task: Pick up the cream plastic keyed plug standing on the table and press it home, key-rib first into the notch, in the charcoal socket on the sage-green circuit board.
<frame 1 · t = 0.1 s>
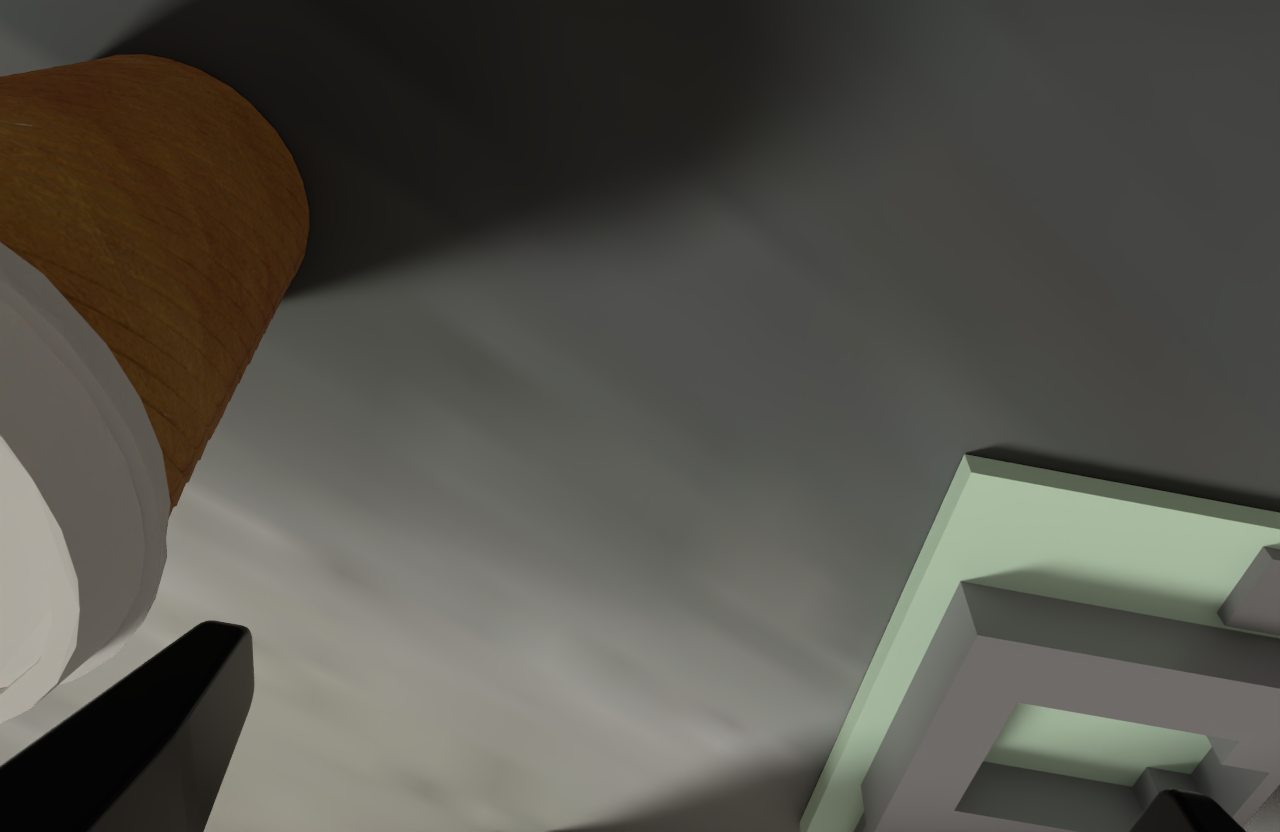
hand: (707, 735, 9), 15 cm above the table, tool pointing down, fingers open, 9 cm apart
disposable coffee cup: (179, 191, 23), on the table
header socket: (1060, 699, 30), resting on circuit board
circuit board: (1060, 699, 30), on the table
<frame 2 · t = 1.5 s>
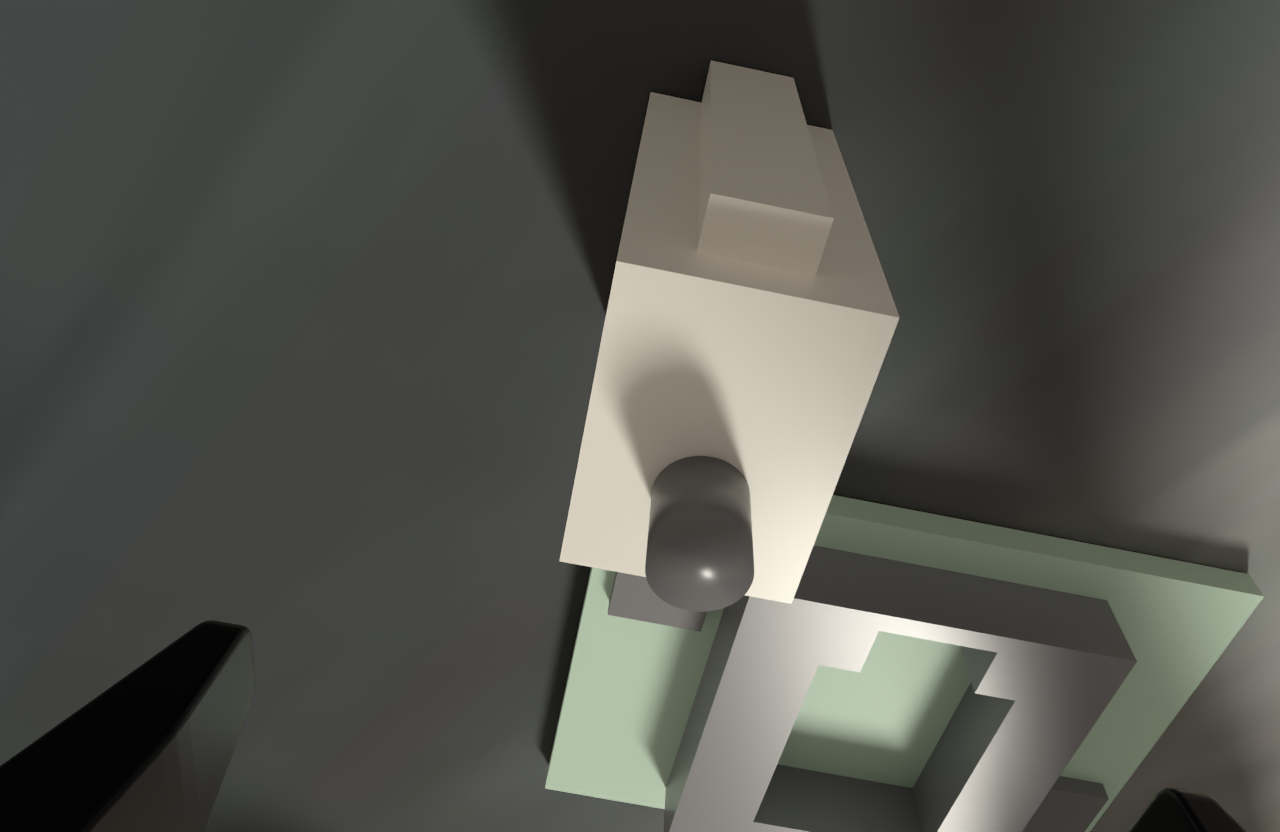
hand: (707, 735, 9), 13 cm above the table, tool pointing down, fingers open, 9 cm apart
header socket: (861, 680, 27), resting on circuit board
keyed plug: (712, 230, 20), on the table
circuit board: (861, 680, 27), on the table
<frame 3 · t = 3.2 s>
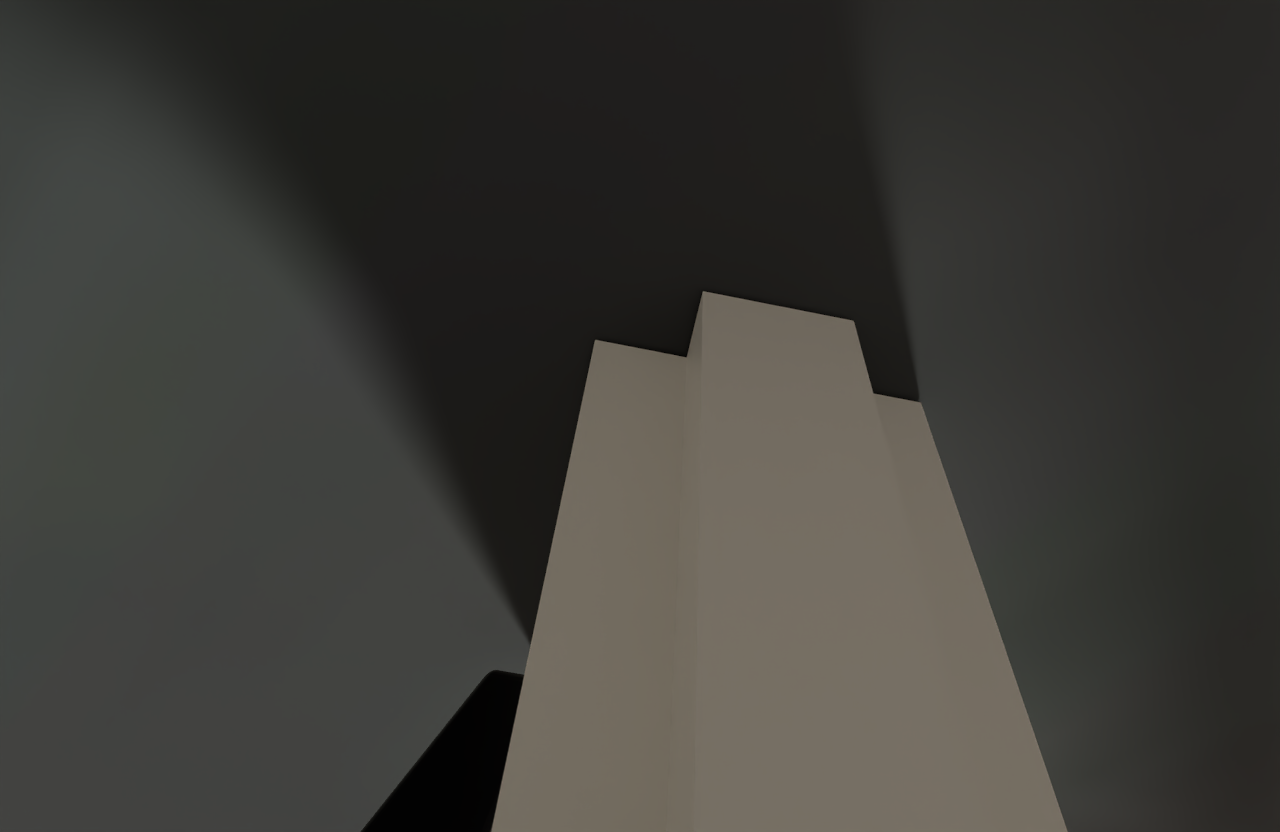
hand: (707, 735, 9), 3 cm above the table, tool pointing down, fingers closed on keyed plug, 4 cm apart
keyed plug: (708, 544, 12), on the table, touching gripper
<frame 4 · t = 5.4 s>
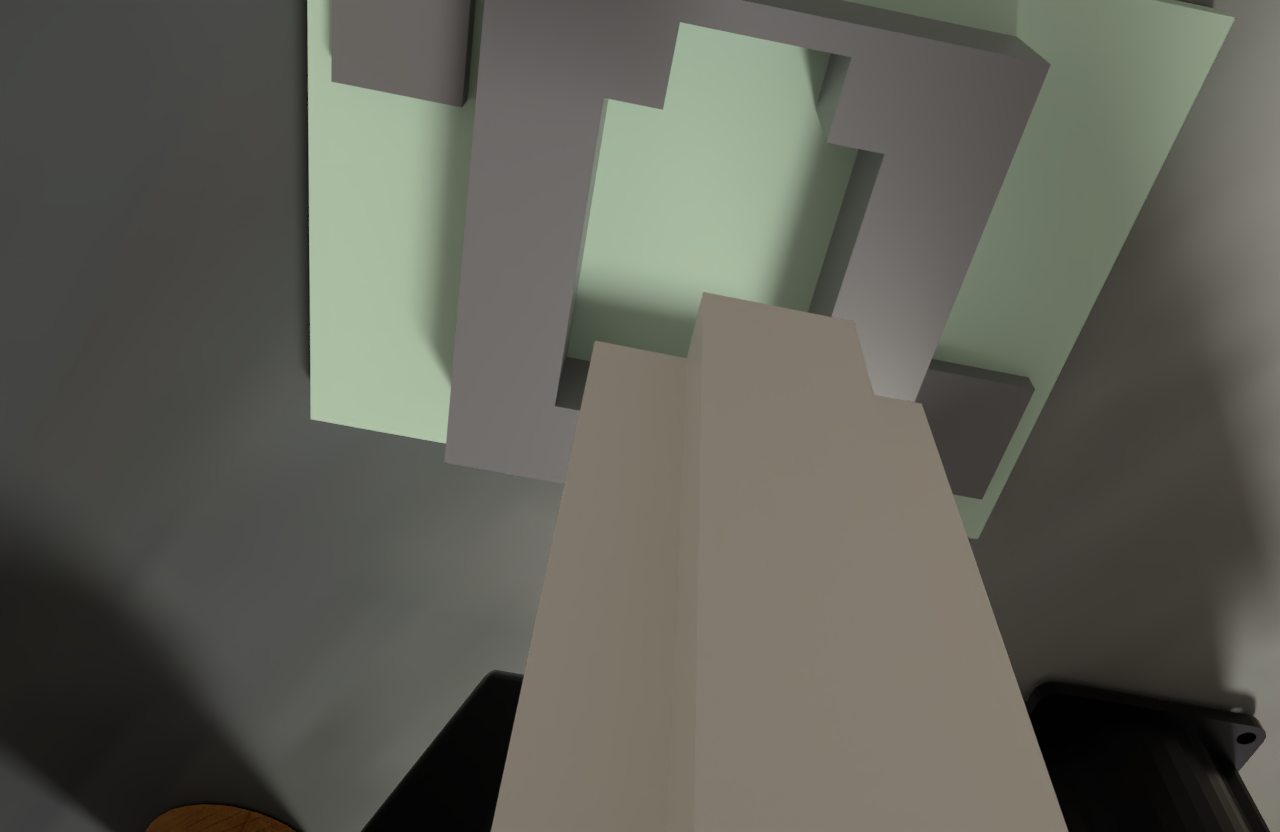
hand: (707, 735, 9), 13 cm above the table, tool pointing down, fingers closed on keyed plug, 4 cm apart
header socket: (705, 232, 20), resting on circuit board
keyed plug: (708, 546, 12), point 10 cm above the table, touching gripper
circuit board: (705, 232, 20), on the table
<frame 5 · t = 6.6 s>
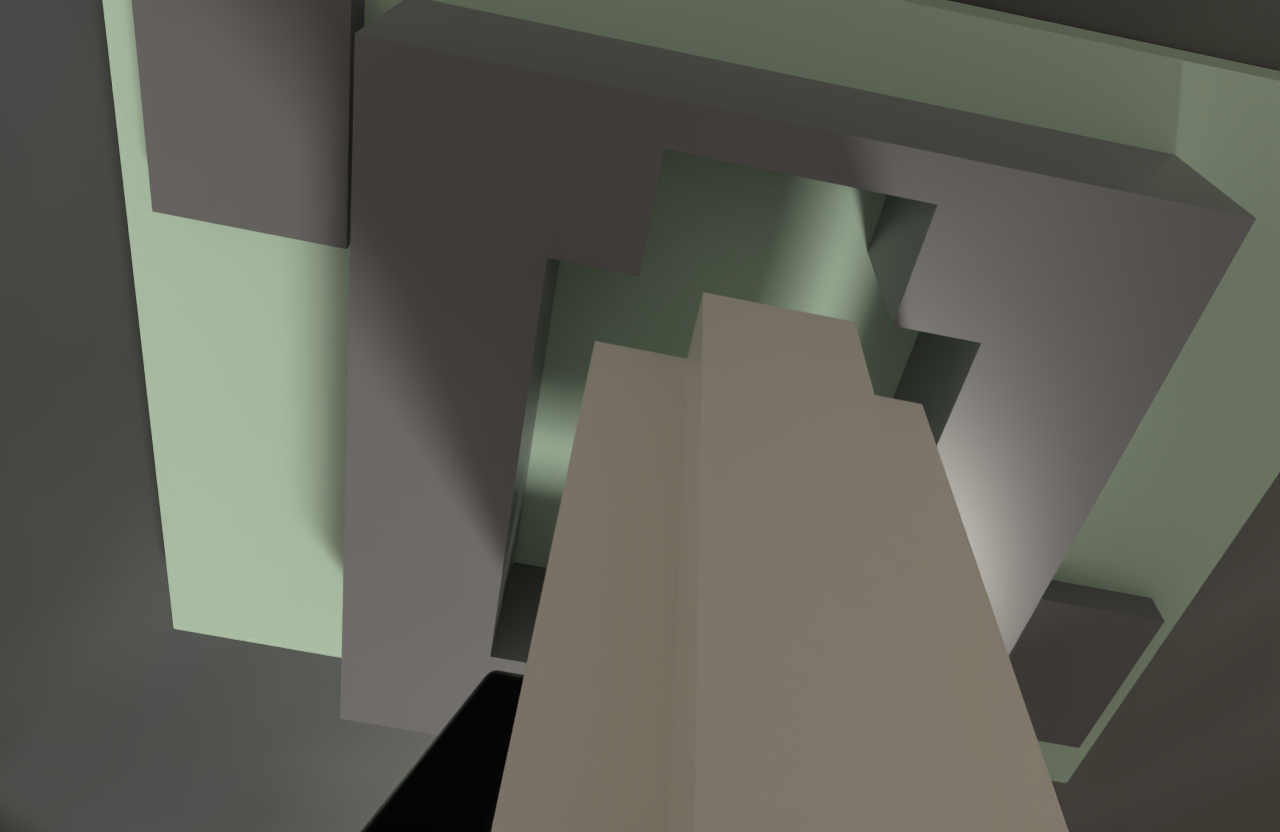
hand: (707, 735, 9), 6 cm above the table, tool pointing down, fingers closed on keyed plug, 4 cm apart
header socket: (704, 401, 14), resting on circuit board
keyed plug: (708, 546, 12), point 3 cm above the table, touching gripper
circuit board: (704, 401, 14), on the table
when the fingers open (4 cm above the table, at t = 7.6 s): keyed plug stays where it is, resting on circuit board.
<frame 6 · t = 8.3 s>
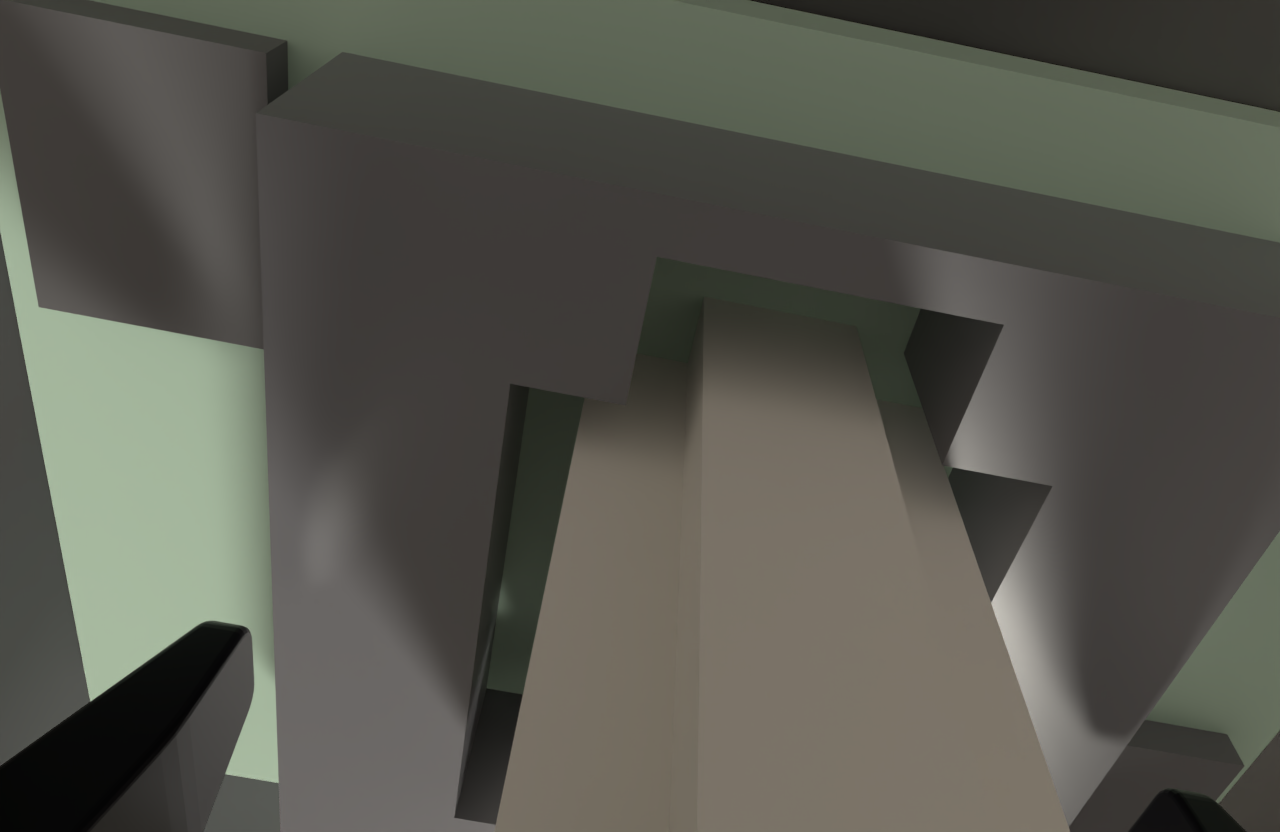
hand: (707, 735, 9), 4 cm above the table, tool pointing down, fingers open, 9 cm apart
header socket: (707, 509, 12), resting on circuit board
keyed plug: (709, 551, 12), point 1 cm above the table, touching circuit board
circuit board: (707, 509, 12), on the table
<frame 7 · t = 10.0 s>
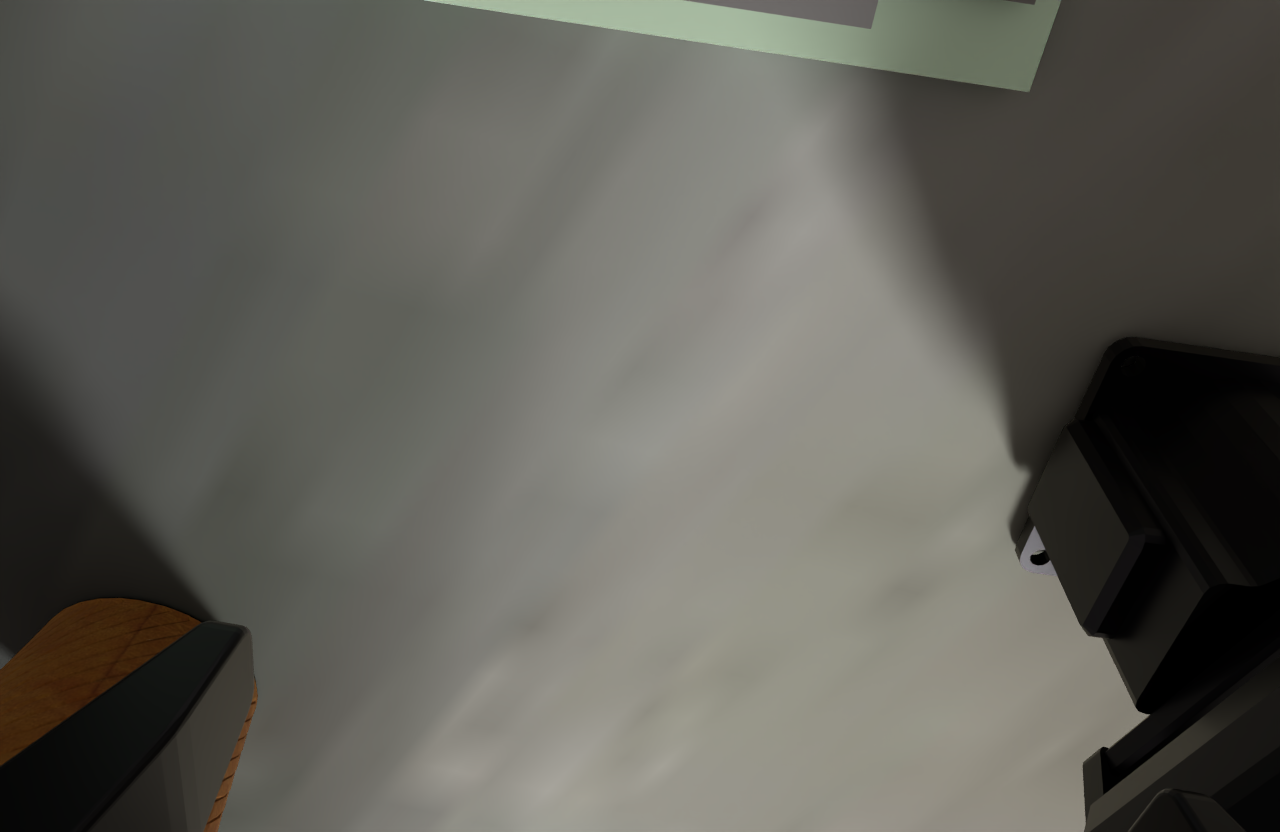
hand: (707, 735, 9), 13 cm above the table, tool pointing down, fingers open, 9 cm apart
disposable coffee cup: (154, 668, 29), on the table
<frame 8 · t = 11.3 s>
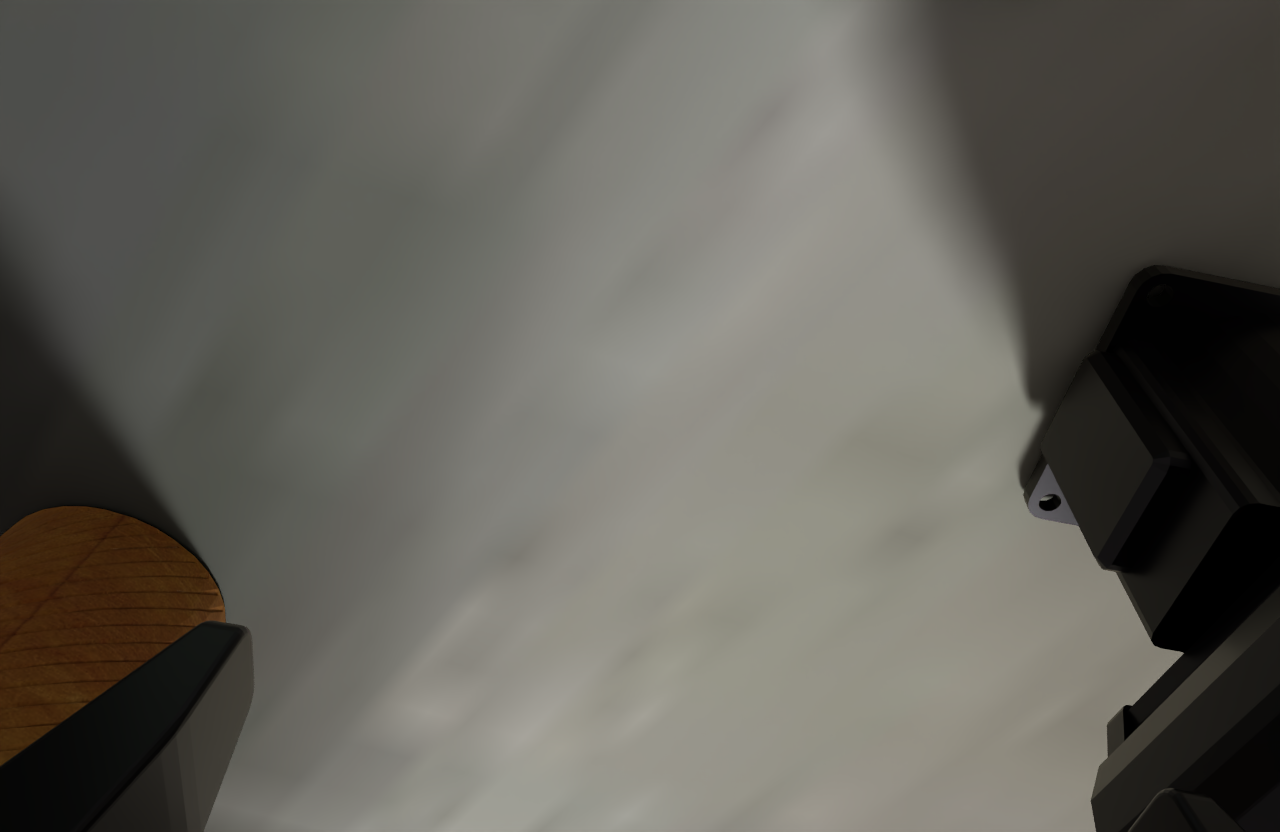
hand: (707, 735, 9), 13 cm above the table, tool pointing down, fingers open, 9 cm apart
disposable coffee cup: (118, 587, 27), on the table
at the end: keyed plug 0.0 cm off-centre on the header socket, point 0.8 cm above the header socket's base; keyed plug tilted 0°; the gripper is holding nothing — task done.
